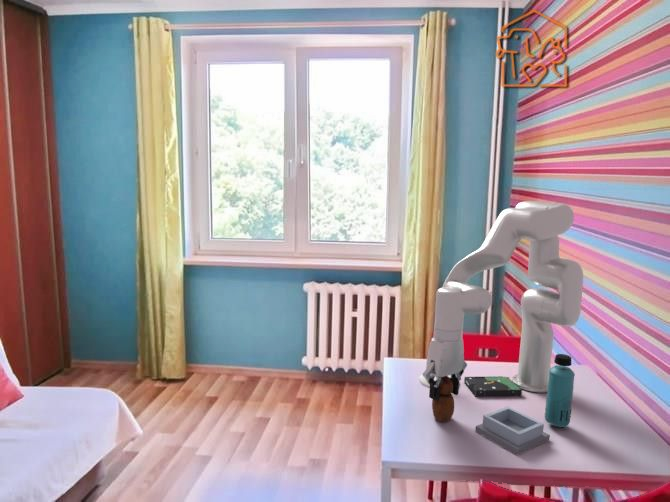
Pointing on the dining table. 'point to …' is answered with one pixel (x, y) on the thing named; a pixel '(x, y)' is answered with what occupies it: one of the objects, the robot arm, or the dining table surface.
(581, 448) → the dining table surface
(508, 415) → the figurine dock
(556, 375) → the beverage bottle
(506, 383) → the disk drive
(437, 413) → the wooden figurine
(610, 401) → the dining table surface
